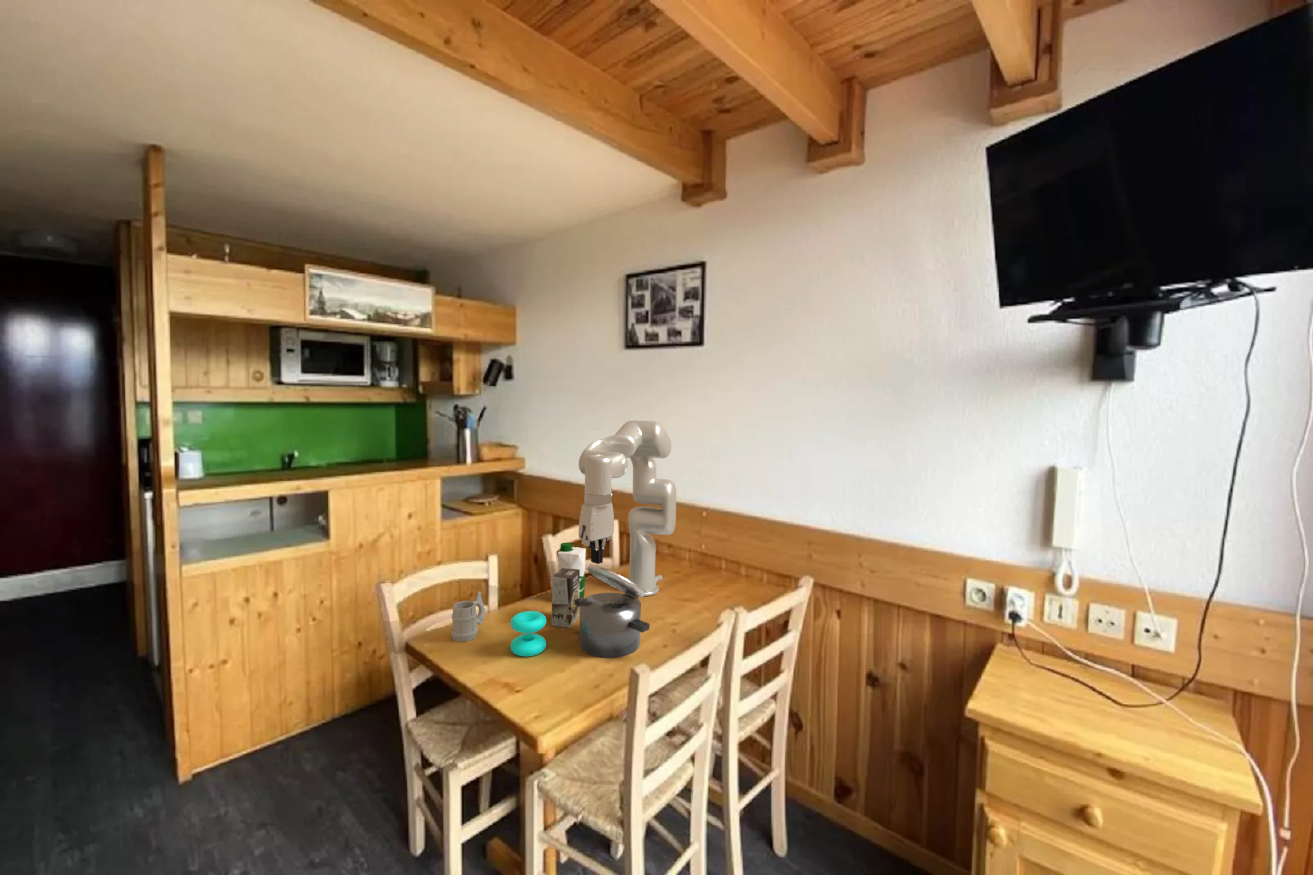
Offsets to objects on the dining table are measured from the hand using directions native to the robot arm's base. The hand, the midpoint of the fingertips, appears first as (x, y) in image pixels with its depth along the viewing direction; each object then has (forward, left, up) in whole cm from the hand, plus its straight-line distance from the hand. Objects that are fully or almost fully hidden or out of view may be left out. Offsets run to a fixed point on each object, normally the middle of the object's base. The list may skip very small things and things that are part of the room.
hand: (596, 562), depth 159 cm
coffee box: (-7, -21, -26) cm, 34 cm away
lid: (-8, 0, -8) cm, 11 cm away
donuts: (+13, -14, -26) cm, 33 cm away
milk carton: (-20, -33, -26) cm, 47 cm away
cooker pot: (-6, 0, -26) cm, 27 cm away
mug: (+19, -35, -26) cm, 48 cm away
